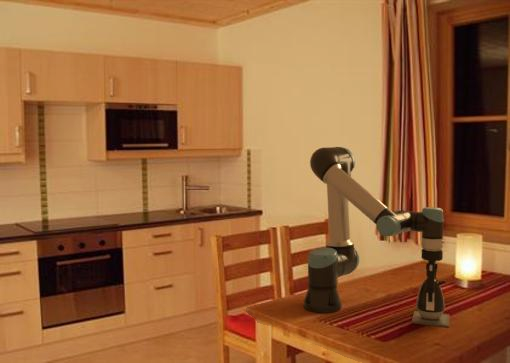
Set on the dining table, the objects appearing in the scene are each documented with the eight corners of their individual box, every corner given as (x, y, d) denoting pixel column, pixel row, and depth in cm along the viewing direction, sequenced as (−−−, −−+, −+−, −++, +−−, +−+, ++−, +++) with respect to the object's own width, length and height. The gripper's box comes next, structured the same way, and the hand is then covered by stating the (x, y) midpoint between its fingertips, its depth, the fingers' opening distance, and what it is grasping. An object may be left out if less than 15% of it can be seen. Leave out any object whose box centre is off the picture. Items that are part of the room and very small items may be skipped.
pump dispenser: (447, 322, 199) (447, 281, 198) (417, 321, 201) (417, 280, 200) (443, 314, 209) (443, 275, 208) (415, 312, 211) (415, 274, 210)
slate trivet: (411, 323, 201) (411, 321, 201) (414, 312, 213) (414, 310, 213) (448, 327, 197) (448, 325, 197) (449, 316, 209) (449, 314, 209)
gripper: (441, 256, 190) (440, 315, 192) (443, 243, 213) (442, 296, 215) (419, 255, 193) (418, 313, 194) (423, 242, 216) (422, 294, 218)
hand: (431, 304), depth 205 cm, fingers open, 13 cm apart
